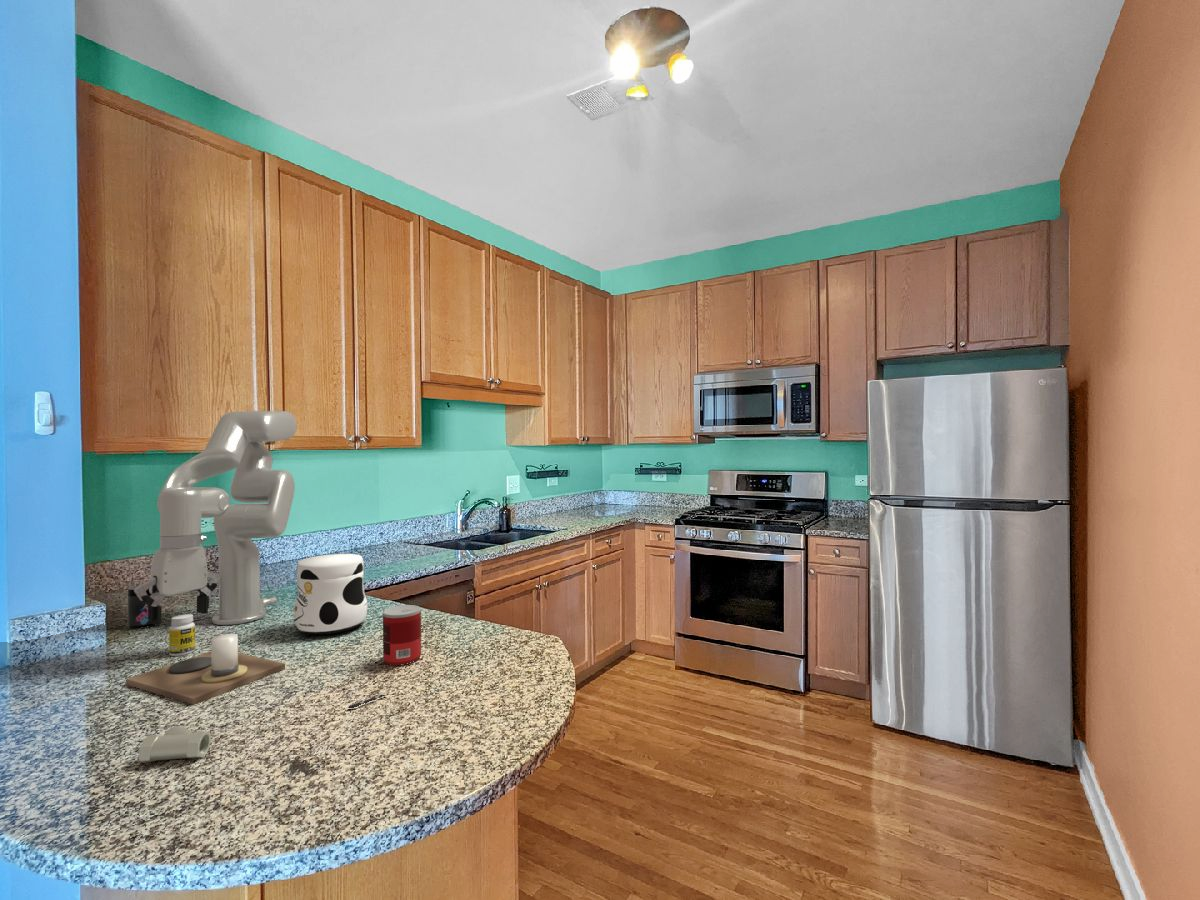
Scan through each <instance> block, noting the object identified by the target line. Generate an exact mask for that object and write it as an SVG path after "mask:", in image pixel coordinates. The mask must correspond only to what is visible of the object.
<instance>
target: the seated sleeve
mask: <svg viewBox="0 0 1200 900" xmlns="http://www.w3.org/2000/svg"><path fill="white" fill-rule="evenodd" d="M238 636H239V635H238V634H237V633H225V634H220V635H216V636H214V637H212V638H211V639H210V644H211V646H210V647H211V648H210V652H211V676H213V677H222V676H227V675H231V674H234V673H236V672H237V671H238V670H239V664H238V653H239V649H238V648H239V647H238V645H239V644H238V643H239V642H238V639H239V637H238Z"/></svg>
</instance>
